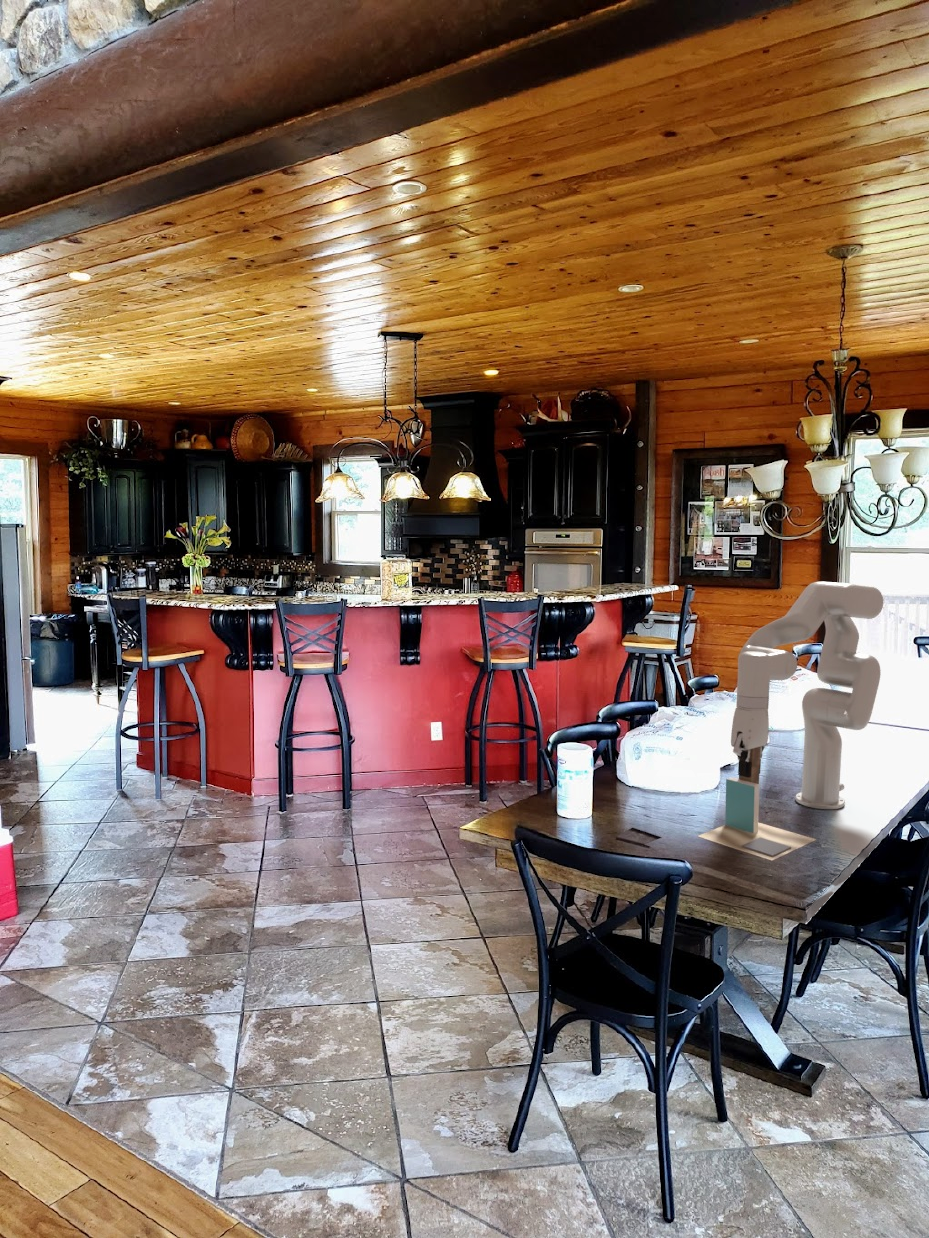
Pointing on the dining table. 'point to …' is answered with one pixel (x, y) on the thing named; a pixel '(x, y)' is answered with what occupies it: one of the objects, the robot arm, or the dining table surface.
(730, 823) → the tile
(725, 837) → the board
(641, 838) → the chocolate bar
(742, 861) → the dining table surface
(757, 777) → the brown wooden block
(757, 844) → the mat
